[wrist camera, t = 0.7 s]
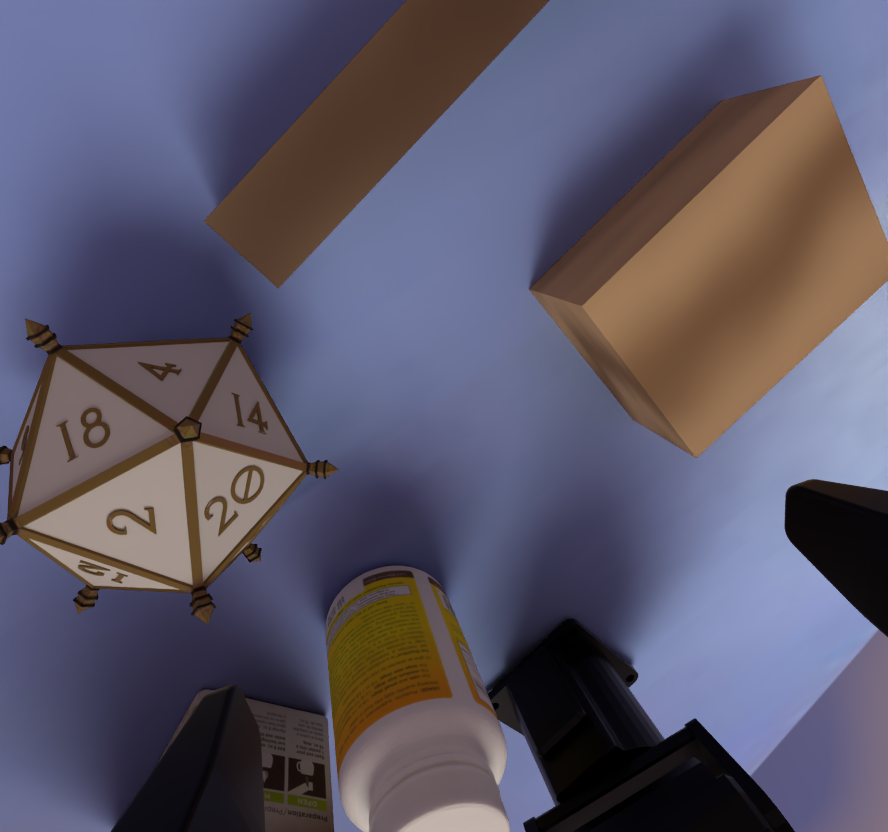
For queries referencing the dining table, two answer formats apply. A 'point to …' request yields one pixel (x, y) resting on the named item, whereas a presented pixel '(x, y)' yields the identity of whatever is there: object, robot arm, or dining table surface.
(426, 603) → the supplement bottle
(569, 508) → the dining table surface
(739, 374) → the oak block
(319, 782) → the coffee box
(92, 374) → the game die
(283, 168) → the walnut board
